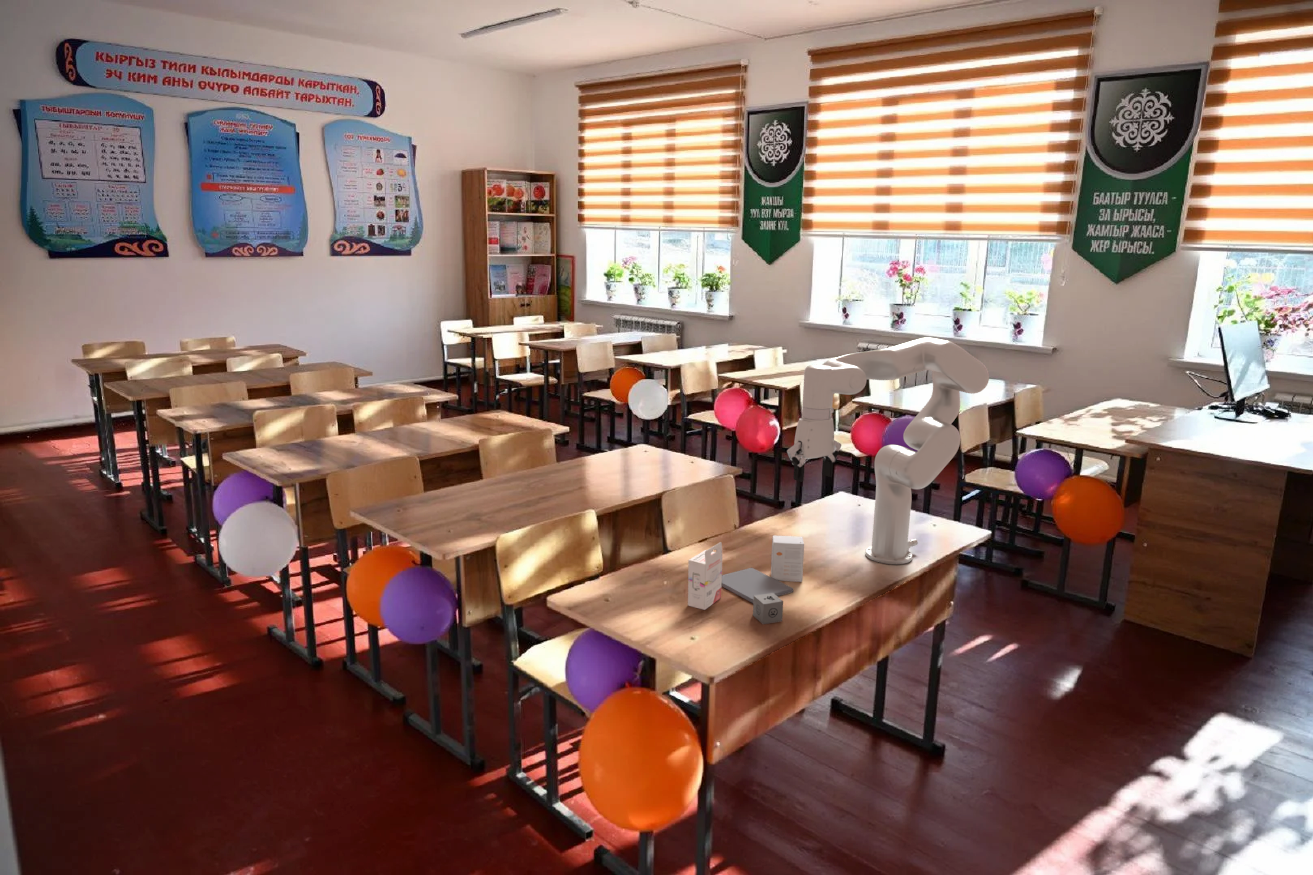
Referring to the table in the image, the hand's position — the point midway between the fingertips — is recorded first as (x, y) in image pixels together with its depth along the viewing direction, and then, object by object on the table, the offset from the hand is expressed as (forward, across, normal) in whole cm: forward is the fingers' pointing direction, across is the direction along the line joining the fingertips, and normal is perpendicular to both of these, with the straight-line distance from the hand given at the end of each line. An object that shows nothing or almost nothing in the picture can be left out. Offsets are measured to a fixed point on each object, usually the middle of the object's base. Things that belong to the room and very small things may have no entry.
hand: (812, 478), depth 224 cm
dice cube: (+26, +28, +19) cm, 42 cm away
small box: (+25, +8, +2) cm, 27 cm away
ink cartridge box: (+26, +36, +4) cm, 44 cm away
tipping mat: (+25, +20, +3) cm, 32 cm away
